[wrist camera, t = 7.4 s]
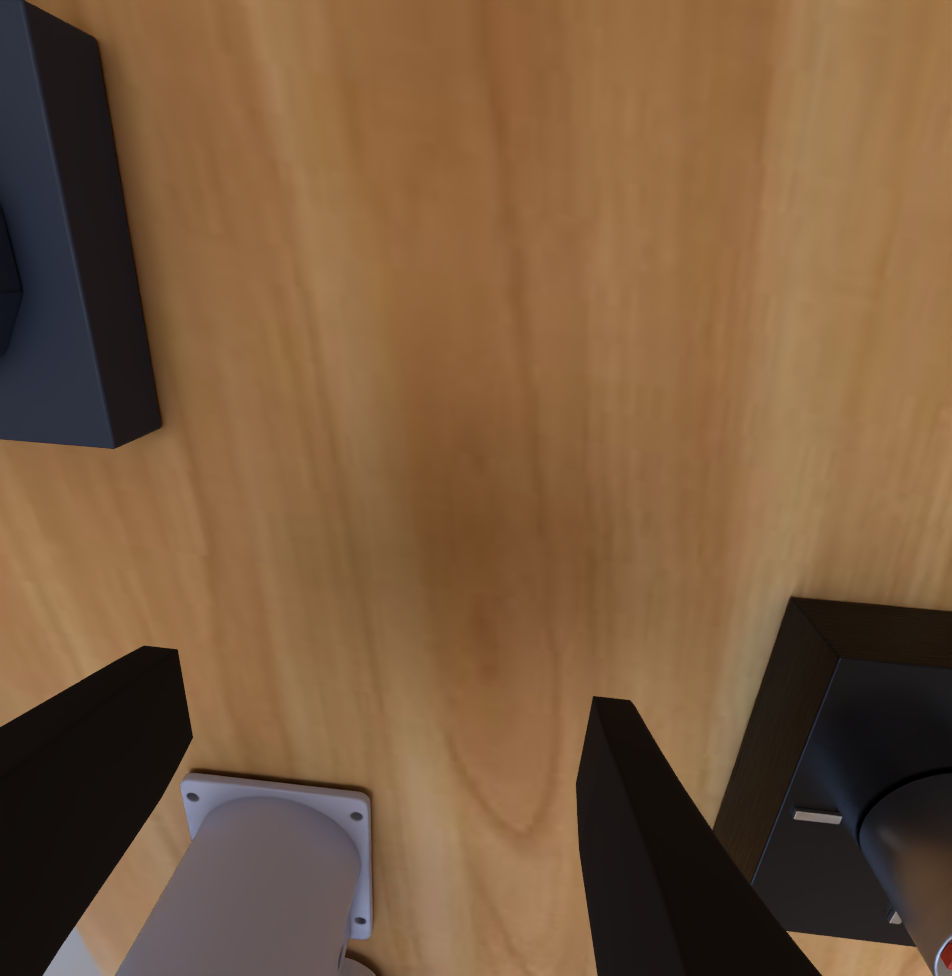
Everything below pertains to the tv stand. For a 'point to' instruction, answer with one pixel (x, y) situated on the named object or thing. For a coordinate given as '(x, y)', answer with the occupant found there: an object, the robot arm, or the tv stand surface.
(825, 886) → the dial panel
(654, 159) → the tv stand surface
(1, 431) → the block
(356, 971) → the electronic device
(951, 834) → the programme dial
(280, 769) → the tv stand surface
